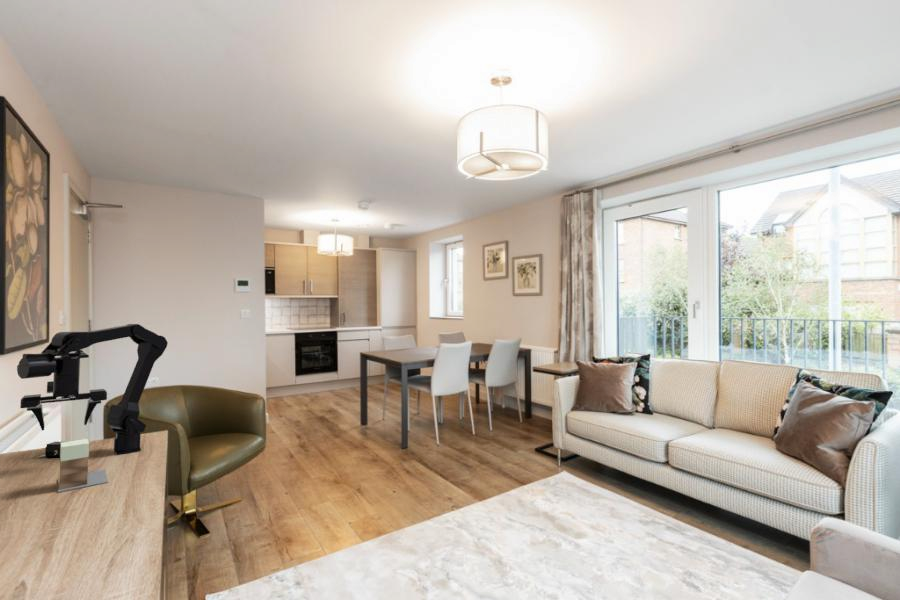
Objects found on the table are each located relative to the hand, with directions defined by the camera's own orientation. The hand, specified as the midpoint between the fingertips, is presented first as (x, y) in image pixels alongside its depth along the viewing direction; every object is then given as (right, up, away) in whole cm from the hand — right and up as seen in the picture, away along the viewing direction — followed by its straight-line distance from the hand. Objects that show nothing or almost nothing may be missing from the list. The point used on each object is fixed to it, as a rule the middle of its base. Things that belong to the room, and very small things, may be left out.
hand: (64, 427), depth 126 cm
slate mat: (+14, -12, -10) cm, 20 cm away
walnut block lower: (+14, -11, -12) cm, 22 cm away
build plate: (-13, -13, +11) cm, 22 cm away
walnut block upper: (+14, -8, -12) cm, 20 cm away
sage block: (+14, -4, -12) cm, 19 cm away
